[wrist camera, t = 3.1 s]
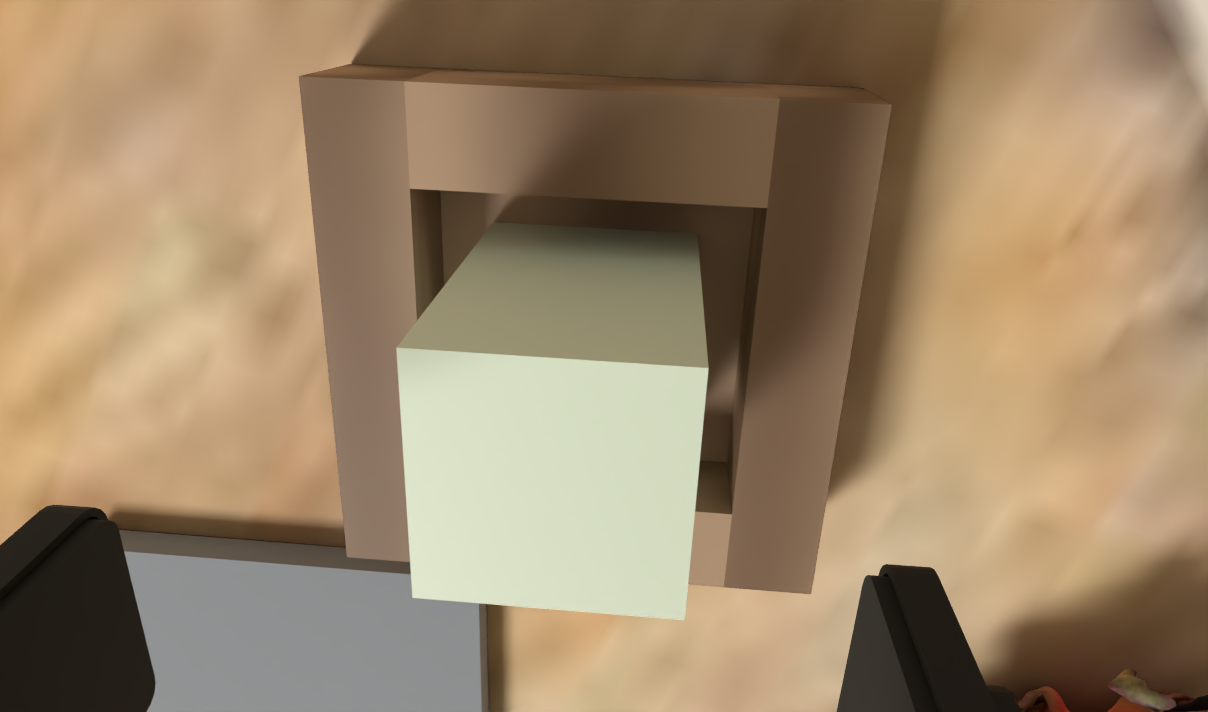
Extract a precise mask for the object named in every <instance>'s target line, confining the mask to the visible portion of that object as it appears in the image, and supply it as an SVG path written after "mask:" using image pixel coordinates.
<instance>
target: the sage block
mask: <svg viewBox="0 0 1208 712" xmlns="http://www.w3.org/2000/svg"><path fill="white" fill-rule="evenodd" d="M396 351H397V366H398V382H399V397H400V413H401V428H402V444H403V459H404V475H405V490H406V506H407V521H408V537H409V552H410V568H411V583H412V598H420V599H433V600H445V601H457V602H469V603H481V604H493V605H506V606H518V607H530V608H542V609H554V610H566V611H579V612H591V613H603V614H615V615H627V616H639V617H652V618H664V619H676V620H685V612H686V602H687V591H688V581H689V570H690V559H691V549H692V538H693V528H694V517H695V506H696V496H697V485H698V475H699V464H700V453H701V443H702V432H703V422H704V411H705V401H706V390H707V379H708V369H709V367H708V356H707V344H706V332H705V320H704V308H703V296H702V284H701V272H700V260H699V248H698V236H697V234H695V233H677V232H660V231H642V230H625V229H607V228H589V227H572V226H554V225H537V224H519V223H501V222H493V223H492V225H491V226H490V227H489V229H488V230H487V231H486V232H485V234H484V235H483V236H482V238H481V239H480V240H479V242H478V243H477V244H476V245H475V247H474V248H473V249H472V251H471V252H470V253H469V254H468V256H467V257H466V258H465V260H464V261H463V262H462V263H461V265H460V266H459V267H458V269H457V270H456V271H455V273H454V274H453V275H452V276H451V278H450V279H449V280H448V282H447V283H446V284H445V285H444V287H443V288H442V289H441V291H440V292H439V293H438V294H437V296H436V297H435V298H434V300H433V301H432V302H431V303H430V305H429V306H428V307H427V309H426V310H425V311H424V313H423V314H422V315H421V316H420V318H419V319H418V320H417V322H416V323H415V324H414V325H413V327H412V328H411V329H410V331H409V332H408V333H407V334H406V336H405V337H404V338H403V340H402V341H401V342H400V344H399V345H398V346H397V347H396Z"/></svg>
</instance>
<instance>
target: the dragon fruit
mask: <svg viewBox="0 0 1208 712" xmlns="http://www.w3.org/2000/svg"><path fill="white" fill-rule="evenodd" d="M1136 673H1137V672H1136V671H1135V670H1133V669H1128V668H1127V669H1124V670H1123V671H1122V672H1121V673H1120V674H1119V675H1118V676H1117V677H1116V678H1115V679H1114V680H1112V681H1110V683H1109V685H1108V687H1109V688H1110V689H1111V690H1112V691H1114V692H1116V693H1118V694H1120V695H1122V697H1121V698H1120V699H1119V700H1118V701H1117V703H1116V704H1115V705H1114V706H1113V707H1112V708H1111V709H1110V710H1109V711H1108V712H1187V711H1203V710H1208V695H1206V696H1202V697H1198V698H1196V699H1195V698H1190V697H1188V696H1187V695H1186V694H1185V693H1171V694H1162V693H1160V692H1157V691H1154V690H1151V689H1149V688H1148V686H1147V682H1146V681H1145V680H1143V679H1140V678H1136ZM1164 691H1165V690H1164ZM1193 699H1194V700H1193ZM1017 703H1018V705H1019V707H1020V709H1021V711H1022V712H1028V711H1029V709H1030V708H1031V707H1032V706H1034V705H1036V704H1039V708H1038V712H1070V711H1069V710H1068V709H1067V708H1066V706H1065V705H1064V702H1063V700H1062V698H1061V697H1060V695H1059V694H1058V693H1057V692H1056V691H1055V690H1054V689H1053V688H1051V687H1048V686H1044V687H1041V688H1039V689H1036V690H1031V691H1030V692H1027V693H1026V694H1025V696H1024V697H1023V699H1022V700H1020V701H1018V702H1017Z"/></svg>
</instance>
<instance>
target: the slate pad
mask: <svg viewBox="0 0 1208 712" xmlns="http://www.w3.org/2000/svg"><path fill="white" fill-rule="evenodd" d="M119 532H120V536H121V541H122V545H123V549H124V553H125V557H126V561H127V565H128V569H129V573H130V577H131V581H132V585H133V589H134V594H135V598H136V602H137V606H138V610H139V614H140V618H141V622H142V626H143V630H144V634H145V638H146V643H147V647H148V651H149V655H150V659H151V663H152V667H153V671H154V675H155V682H156V684H155V692H154V696H153V699H152V702H151V705H150V706H149V708H148V710H147V712H489V706H488V660H487V614H486V604H481V603H469V602H457V601H445V600H433V599H420V598H412V583H411V568H410V562H402V561H389V560H377V559H364V558H352V557H347V553H346V548H343V547H330V546H318V545H305V544H292V543H280V542H267V541H254V540H242V539H229V538H217V537H204V536H191V535H179V534H166V533H153V532H141V531H128V530H119Z"/></svg>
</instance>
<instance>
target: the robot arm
mask: <svg viewBox="0 0 1208 712" xmlns="http://www.w3.org/2000/svg"><path fill="white" fill-rule="evenodd" d="M155 684H156V682H155V675H154V671H153V667H152V663H151V659H150V655H149V651H148V647H147V643H146V638H145V634H144V630H143V626H142V622H141V618H140V614H139V610H138V606H137V602H136V598H135V594H134V589H133V585H132V581H131V577H130V573H129V569H128V565H127V561H126V557H125V553H124V549H123V545H122V541H121V536H120V532H119V529H118V527H117V525H116V524H115V523H114V522H112V521H109V520H108V519H107V516H106V514H105V513H104V512H103V511H102V510H100V509H97V508H91V507H77V506H63V505H51V506H47V507H45V508H44V509H42V510H40V511H39V512H38V513H37V514H36V515H35V516H33V517H32V518H31V519H30V520H29V521H28V522H27V523H25V524H24V525H23V526H22V527H21V528H20V529H18V530H17V531H16V532H15V533H14V534H13V535H12V536H10V537H9V538H8V539H7V540H6V541H5V542H4V543H2V544H1V545H0V712H147V710H148V708H149V706H150V705H151V702H152V699H153V696H154V692H155ZM837 712H1022V711H1021V709H1020V707H1019V705H1018V703H1017V701H1016V700H1015V698H1014V696H1013V695H1012V693H1011V692H1010V691H1008V690H1007V689H1006V688H1005V687H998V686H986V684H985V682H984V679H983V677H982V675H981V673H980V670H979V668H978V666H977V663H976V661H975V659H974V657H973V654H972V652H971V650H970V647H969V645H968V643H967V641H966V638H965V636H964V634H963V632H962V629H961V627H960V625H959V622H958V620H957V618H956V616H955V613H954V611H953V609H952V607H951V604H950V602H949V600H948V597H947V595H946V593H945V591H944V588H943V586H942V584H941V581H940V579H939V577H938V575H937V573H936V572H935V570H934V569H932V568H930V567H916V566H902V565H888V564H886V565H883V566H882V568H881V570H880V573H879V576H871V575H868V576H866V577H865V579H864V582H863V586H862V591H861V596H860V600H859V605H858V610H857V615H856V620H855V625H854V630H853V635H852V640H851V645H850V650H849V654H848V659H847V664H846V669H845V674H844V679H843V684H842V689H841V694H840V699H839V703H838V708H837Z"/></svg>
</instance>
